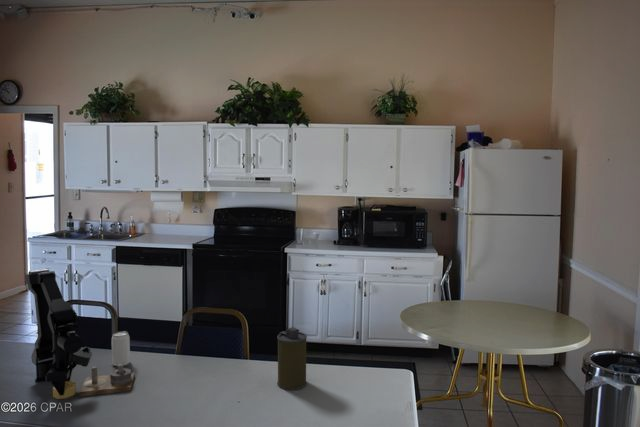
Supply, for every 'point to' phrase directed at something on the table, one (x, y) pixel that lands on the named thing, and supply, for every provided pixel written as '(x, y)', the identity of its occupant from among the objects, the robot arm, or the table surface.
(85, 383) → the gear board
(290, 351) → the canister
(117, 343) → the can
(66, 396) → the tan ring
